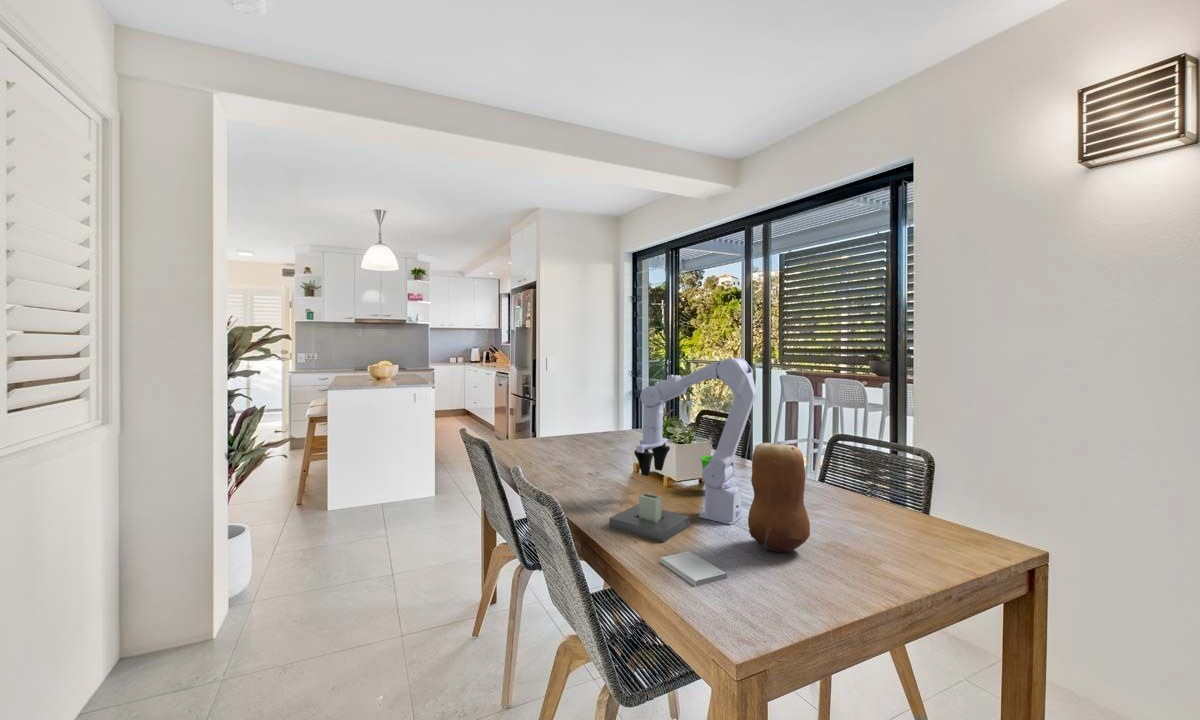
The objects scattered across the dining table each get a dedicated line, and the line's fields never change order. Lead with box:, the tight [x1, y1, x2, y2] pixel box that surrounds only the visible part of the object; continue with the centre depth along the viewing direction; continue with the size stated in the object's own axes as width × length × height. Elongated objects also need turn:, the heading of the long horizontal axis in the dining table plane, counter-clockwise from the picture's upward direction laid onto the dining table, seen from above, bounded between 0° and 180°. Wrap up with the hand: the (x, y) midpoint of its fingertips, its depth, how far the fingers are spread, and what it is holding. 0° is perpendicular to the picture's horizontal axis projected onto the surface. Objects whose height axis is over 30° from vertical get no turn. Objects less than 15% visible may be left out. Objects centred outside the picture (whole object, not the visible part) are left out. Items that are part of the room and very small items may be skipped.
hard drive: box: [659, 550, 728, 587], centre depth 109 cm, size 2×8×12 cm
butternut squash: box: [747, 442, 811, 554], centre depth 119 cm, size 14×13×25 cm
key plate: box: [608, 503, 691, 544], centre depth 133 cm, size 16×14×2 cm
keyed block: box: [638, 493, 663, 522], centre depth 133 cm, size 3×5×8 cm, turn 53°
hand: (652, 472), depth 151 cm, fingers open, 7 cm apart
